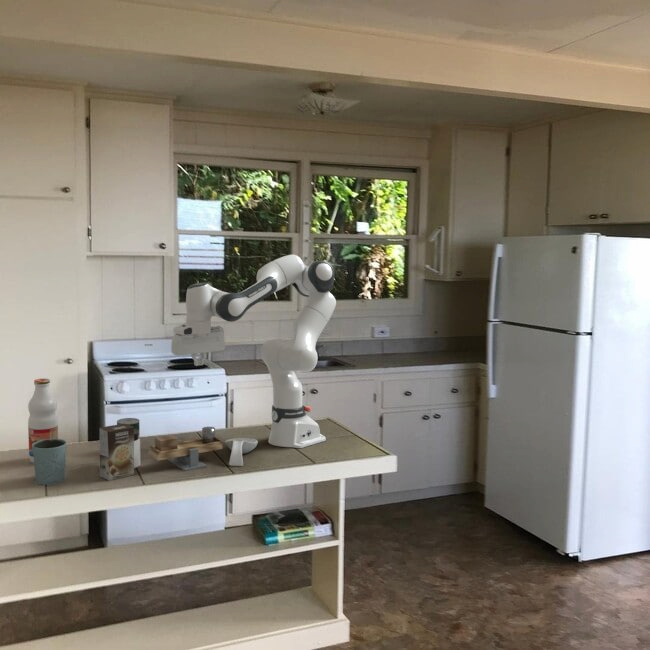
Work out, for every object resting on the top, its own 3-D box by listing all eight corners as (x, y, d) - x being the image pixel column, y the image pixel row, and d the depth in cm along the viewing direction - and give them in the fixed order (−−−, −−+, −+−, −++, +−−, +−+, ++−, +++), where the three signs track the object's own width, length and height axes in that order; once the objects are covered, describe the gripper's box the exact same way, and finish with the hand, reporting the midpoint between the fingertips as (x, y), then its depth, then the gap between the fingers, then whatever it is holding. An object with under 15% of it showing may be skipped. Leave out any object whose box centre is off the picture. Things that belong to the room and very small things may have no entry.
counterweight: (211, 439, 251) (211, 426, 250) (217, 442, 247) (217, 428, 246) (199, 441, 248) (199, 427, 247) (205, 444, 244) (205, 430, 244)
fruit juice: (64, 460, 243) (62, 379, 240) (37, 466, 236) (35, 384, 232) (49, 454, 249) (47, 375, 246) (23, 460, 242) (21, 379, 238)
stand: (187, 455, 251) (187, 438, 250) (206, 466, 240) (206, 448, 239) (166, 459, 246) (166, 441, 245) (184, 470, 235) (184, 452, 234)
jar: (125, 460, 244) (125, 426, 243) (144, 464, 241) (144, 429, 240) (107, 468, 236) (107, 433, 235) (127, 471, 233) (127, 436, 231)
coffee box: (109, 481, 224) (108, 431, 222) (99, 476, 228) (98, 427, 226) (135, 474, 231) (134, 426, 229) (124, 469, 235) (124, 422, 233)
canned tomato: (137, 453, 252) (137, 423, 250) (114, 453, 251) (114, 423, 250) (141, 447, 260) (141, 418, 258) (119, 447, 259) (119, 417, 258)
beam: (211, 442, 254) (211, 434, 253) (223, 449, 246) (223, 440, 246) (147, 454, 239) (147, 445, 239) (159, 461, 232) (159, 452, 231)
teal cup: (64, 473, 230) (64, 437, 229) (69, 482, 222) (68, 445, 220) (31, 477, 226) (30, 440, 224) (34, 487, 217) (33, 449, 215)
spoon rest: (227, 446, 265) (227, 427, 264) (258, 446, 265) (259, 428, 264) (219, 466, 241) (219, 446, 240) (254, 467, 242) (254, 447, 241)
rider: (171, 446, 242) (171, 435, 241) (177, 449, 238) (177, 438, 238) (155, 449, 238) (155, 437, 238) (160, 452, 235) (160, 441, 234)
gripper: (219, 324, 266) (219, 360, 268) (169, 328, 253) (169, 366, 255) (228, 326, 261) (228, 363, 263) (177, 331, 248) (177, 369, 250)
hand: (198, 365), depth 259 cm, fingers closed
